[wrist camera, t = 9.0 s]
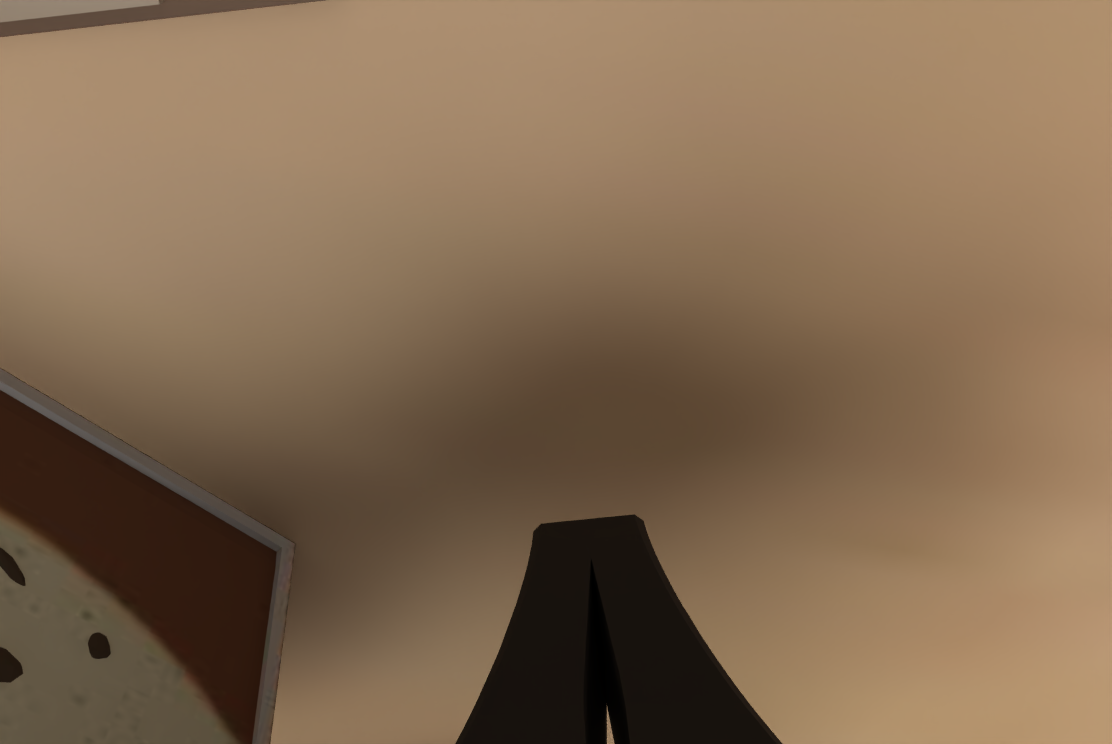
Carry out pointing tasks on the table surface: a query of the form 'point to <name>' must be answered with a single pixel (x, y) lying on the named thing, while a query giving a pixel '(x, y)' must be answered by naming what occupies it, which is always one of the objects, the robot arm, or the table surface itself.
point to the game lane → (109, 12)
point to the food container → (127, 593)
